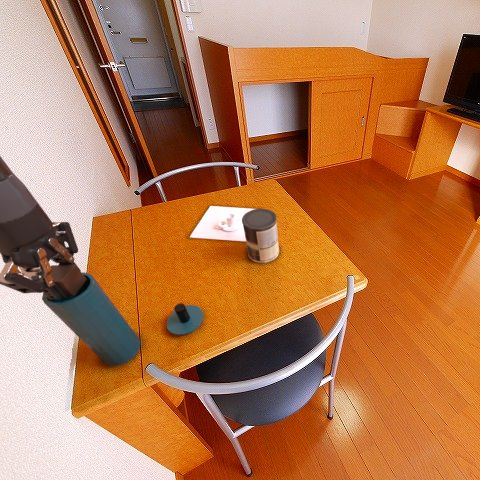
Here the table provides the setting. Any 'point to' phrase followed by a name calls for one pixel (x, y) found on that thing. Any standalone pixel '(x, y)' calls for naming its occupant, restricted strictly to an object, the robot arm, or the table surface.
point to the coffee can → (261, 235)
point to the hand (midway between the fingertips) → (68, 287)
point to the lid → (184, 319)
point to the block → (68, 278)
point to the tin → (97, 322)
